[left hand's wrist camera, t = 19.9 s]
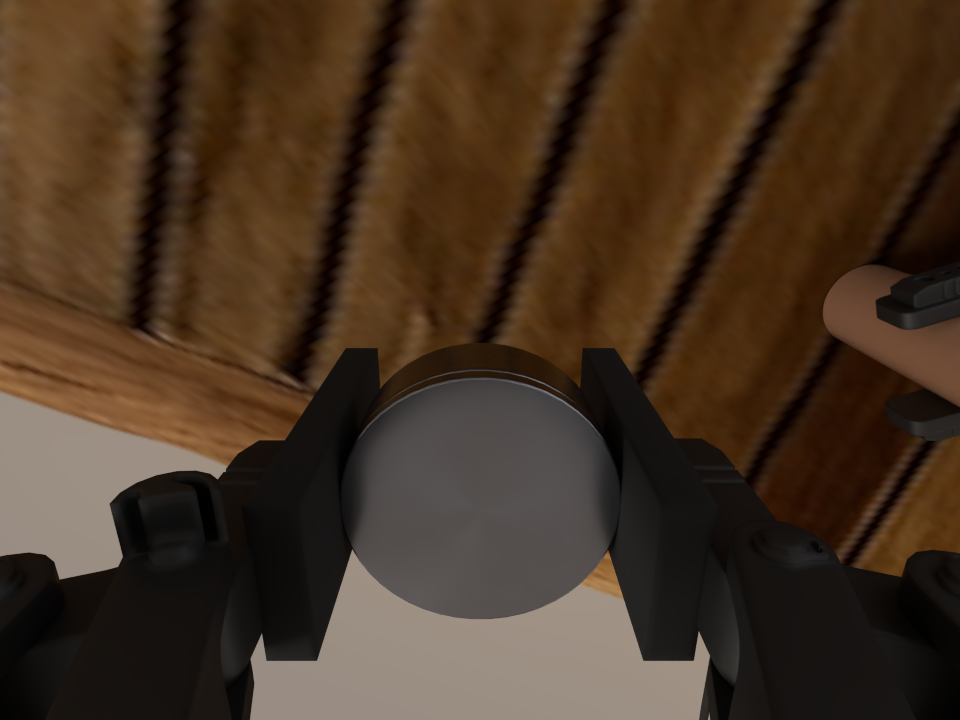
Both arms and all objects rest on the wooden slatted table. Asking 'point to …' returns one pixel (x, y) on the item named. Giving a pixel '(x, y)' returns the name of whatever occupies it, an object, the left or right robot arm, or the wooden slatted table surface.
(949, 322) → the brown cylindrical rod
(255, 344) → the wooden slatted table surface
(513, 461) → the lid
